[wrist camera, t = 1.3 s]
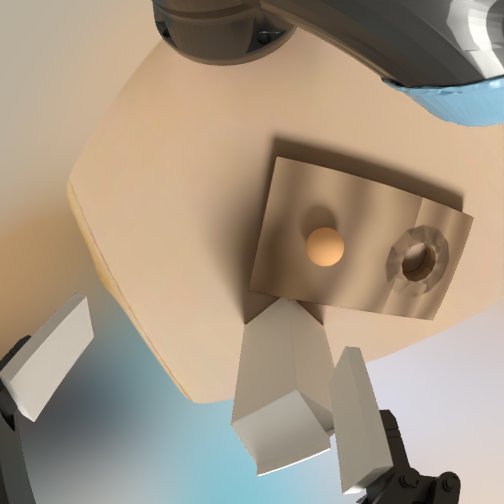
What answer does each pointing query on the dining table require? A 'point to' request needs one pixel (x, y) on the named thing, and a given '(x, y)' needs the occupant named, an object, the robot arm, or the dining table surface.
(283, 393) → the milk carton
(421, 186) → the dining table surface
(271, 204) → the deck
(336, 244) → the ball
